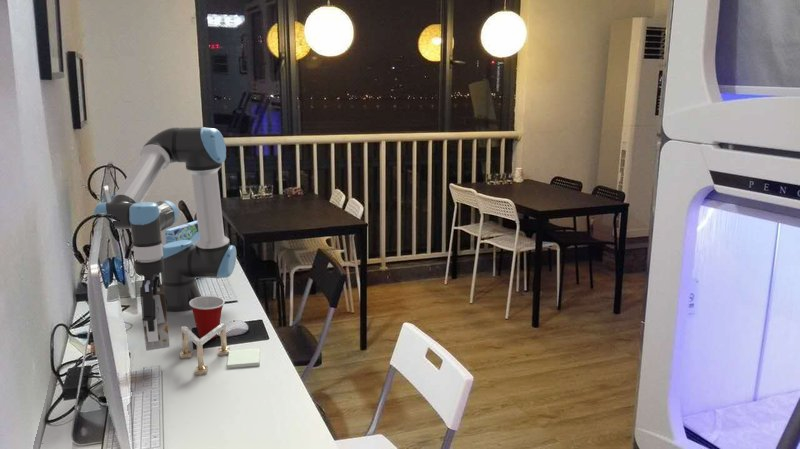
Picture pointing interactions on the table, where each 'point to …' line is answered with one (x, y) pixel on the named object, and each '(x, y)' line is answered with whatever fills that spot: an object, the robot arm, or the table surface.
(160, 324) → the coffee box
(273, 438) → the table surface
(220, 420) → the table surface
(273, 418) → the table surface
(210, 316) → the plastic cup
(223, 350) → the three-legged tripod stand
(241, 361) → the end plate
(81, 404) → the table surface
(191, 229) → the gum box
